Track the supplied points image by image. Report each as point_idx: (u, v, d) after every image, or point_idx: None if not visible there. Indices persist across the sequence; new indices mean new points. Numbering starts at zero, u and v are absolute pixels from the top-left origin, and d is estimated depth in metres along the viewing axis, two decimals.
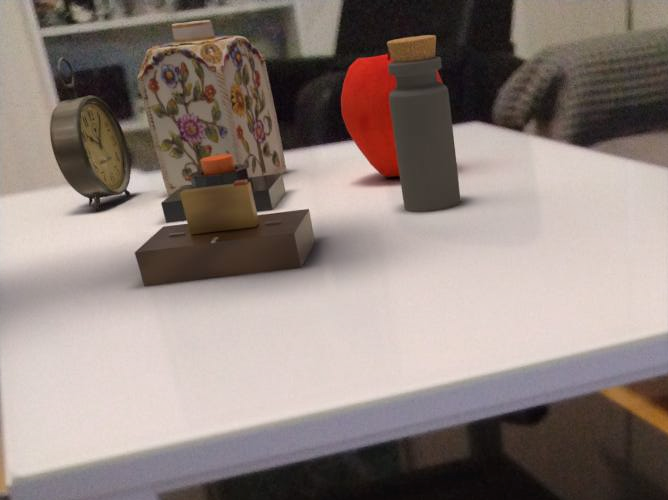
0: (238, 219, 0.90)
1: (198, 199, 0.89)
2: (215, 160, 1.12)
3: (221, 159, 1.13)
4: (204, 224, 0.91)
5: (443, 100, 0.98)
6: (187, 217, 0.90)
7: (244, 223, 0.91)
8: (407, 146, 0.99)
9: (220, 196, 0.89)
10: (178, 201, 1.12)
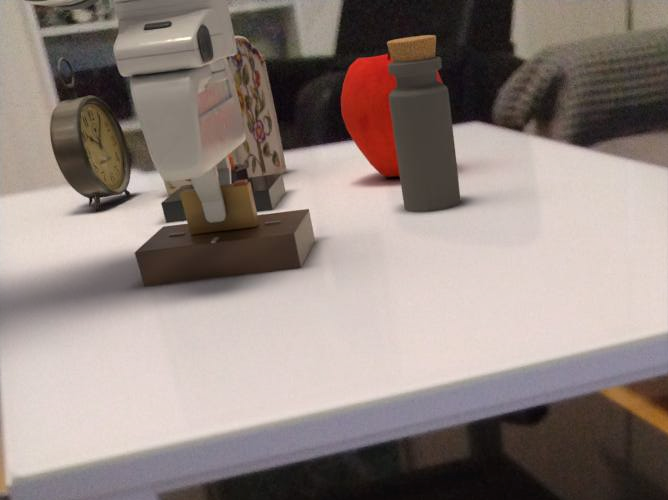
0: (238, 219, 0.90)
1: (198, 199, 0.89)
2: None
3: None
4: (204, 224, 0.91)
5: (443, 100, 0.98)
6: (187, 217, 0.90)
7: (244, 223, 0.91)
8: (407, 146, 0.99)
9: None
10: (178, 201, 1.12)
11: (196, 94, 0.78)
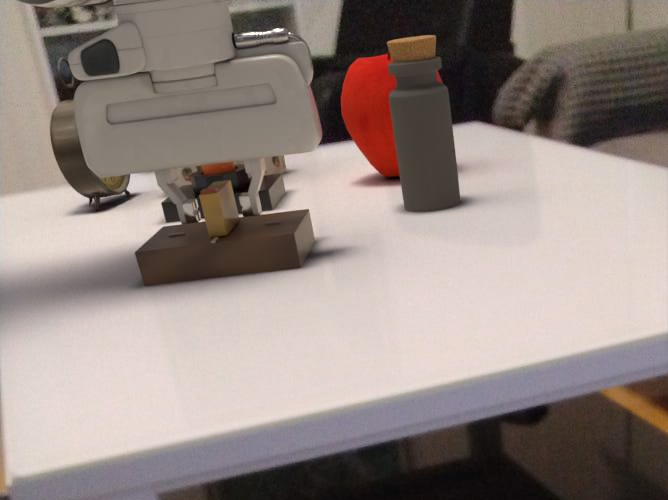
0: None
1: None
2: None
3: None
4: None
5: (443, 100, 0.98)
6: None
7: None
8: (407, 146, 0.99)
9: None
10: None
11: (81, 104, 0.84)
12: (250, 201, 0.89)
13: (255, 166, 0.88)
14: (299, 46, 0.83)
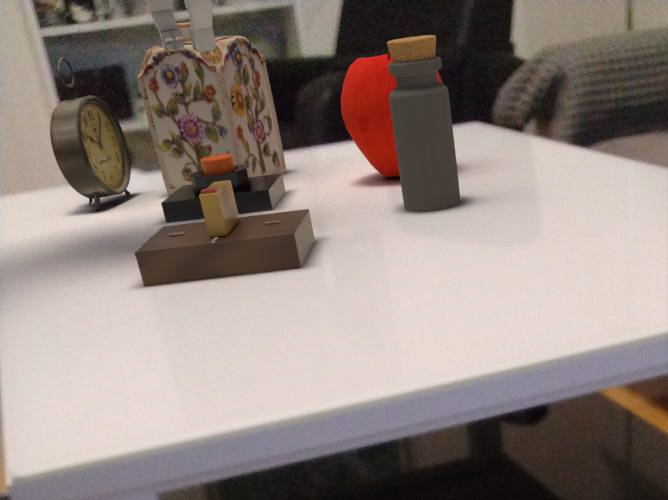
0: None
1: None
2: (215, 160, 1.12)
3: (221, 159, 1.13)
4: None
5: (443, 100, 0.98)
6: None
7: None
8: (407, 146, 0.99)
9: None
10: (178, 201, 1.12)
11: None
12: None
13: None
14: None
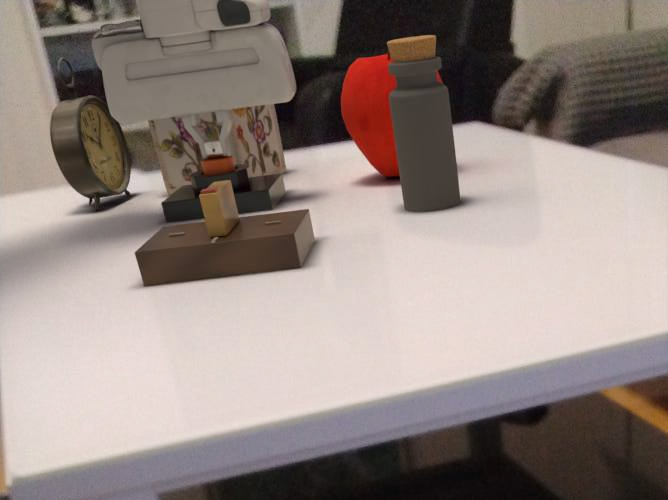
0: None
1: None
2: (215, 161, 1.12)
3: (221, 160, 1.13)
4: None
5: (443, 100, 0.98)
6: None
7: None
8: (407, 146, 0.99)
9: None
10: (178, 201, 1.12)
11: None
12: None
13: None
14: None
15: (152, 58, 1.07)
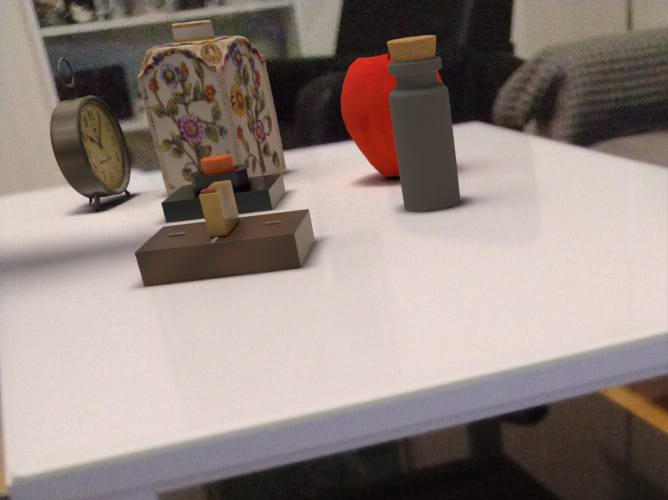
0: None
1: None
2: (215, 160, 1.12)
3: (221, 159, 1.13)
4: None
5: (443, 100, 0.98)
6: None
7: None
8: (407, 146, 0.99)
9: None
10: (178, 201, 1.12)
11: None
12: None
13: None
14: None
15: None
